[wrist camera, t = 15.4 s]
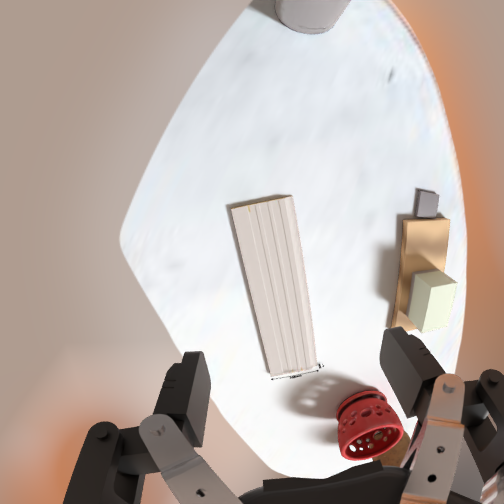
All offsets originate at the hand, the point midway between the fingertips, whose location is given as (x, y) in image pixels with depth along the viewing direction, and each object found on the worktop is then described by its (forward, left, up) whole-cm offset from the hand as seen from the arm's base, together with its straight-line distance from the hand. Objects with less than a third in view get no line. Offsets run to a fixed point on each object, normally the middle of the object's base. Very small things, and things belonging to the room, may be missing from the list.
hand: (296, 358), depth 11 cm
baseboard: (+13, +2, -30) cm, 32 cm away
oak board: (+11, +26, -29) cm, 40 cm away
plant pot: (+41, +18, -29) cm, 54 cm away
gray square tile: (-1, +26, -29) cm, 39 cm away
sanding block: (+14, +26, -27) cm, 40 cm away
